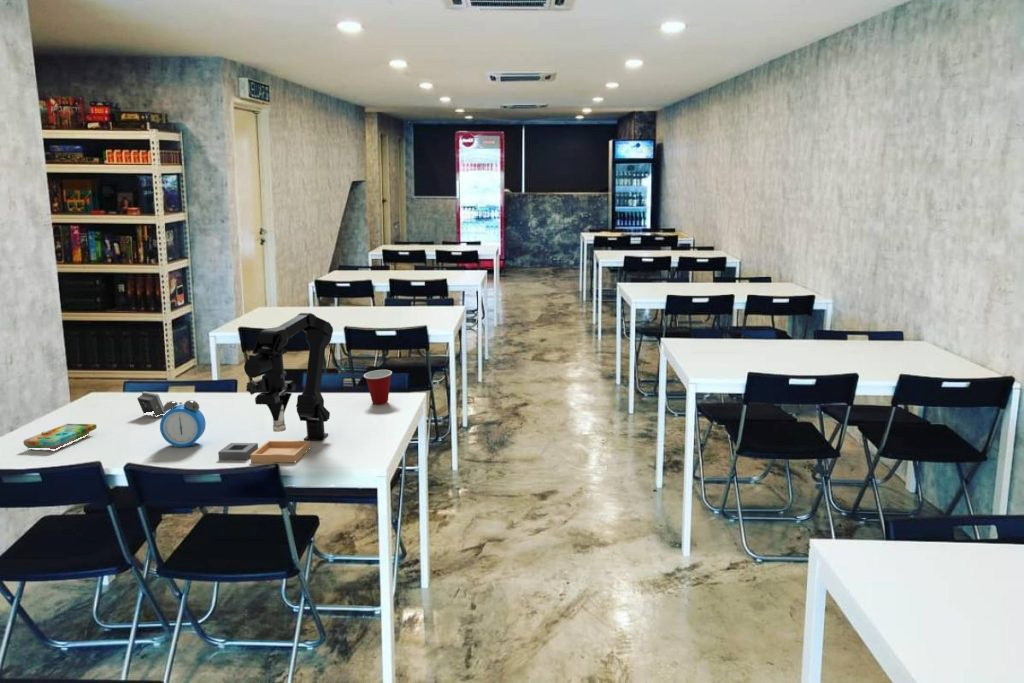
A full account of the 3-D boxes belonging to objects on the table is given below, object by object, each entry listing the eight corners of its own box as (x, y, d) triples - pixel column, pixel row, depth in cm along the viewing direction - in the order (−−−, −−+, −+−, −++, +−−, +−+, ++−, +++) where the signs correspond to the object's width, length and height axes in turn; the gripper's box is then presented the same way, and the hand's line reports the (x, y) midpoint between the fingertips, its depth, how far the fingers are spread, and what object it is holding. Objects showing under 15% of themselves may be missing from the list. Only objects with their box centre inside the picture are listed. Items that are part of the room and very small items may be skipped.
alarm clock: (161, 448, 271) (156, 404, 268) (168, 442, 277) (163, 399, 274) (202, 446, 271) (197, 402, 269) (208, 441, 278) (203, 397, 275)
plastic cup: (359, 404, 319) (357, 373, 317) (381, 398, 327) (379, 368, 324) (377, 408, 312) (375, 377, 309) (399, 402, 320) (397, 371, 317)
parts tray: (268, 448, 268) (268, 440, 268) (310, 448, 266) (310, 440, 266) (251, 462, 254) (250, 454, 254) (295, 462, 253) (294, 455, 252)
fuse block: (231, 450, 267) (230, 442, 266) (258, 450, 266) (257, 443, 265) (218, 459, 258) (218, 452, 258) (246, 459, 257) (245, 452, 257)
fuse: (276, 428, 261) (273, 403, 259) (287, 428, 261) (285, 403, 259) (271, 431, 257) (269, 406, 256) (283, 431, 257) (280, 406, 255)
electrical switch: (167, 415, 310) (162, 392, 308) (155, 420, 306) (150, 397, 304) (152, 412, 315) (147, 389, 313) (139, 417, 311) (134, 394, 309)
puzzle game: (22, 438, 272) (66, 421, 291) (25, 452, 273) (68, 434, 292) (53, 439, 269) (95, 422, 289) (55, 453, 270) (97, 434, 290)
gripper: (261, 363, 265) (265, 410, 268) (236, 377, 247) (241, 427, 250) (294, 363, 264) (298, 410, 267) (272, 377, 246) (276, 428, 249)
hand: (278, 419), depth 258 cm, fingers closed on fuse, 3 cm apart
